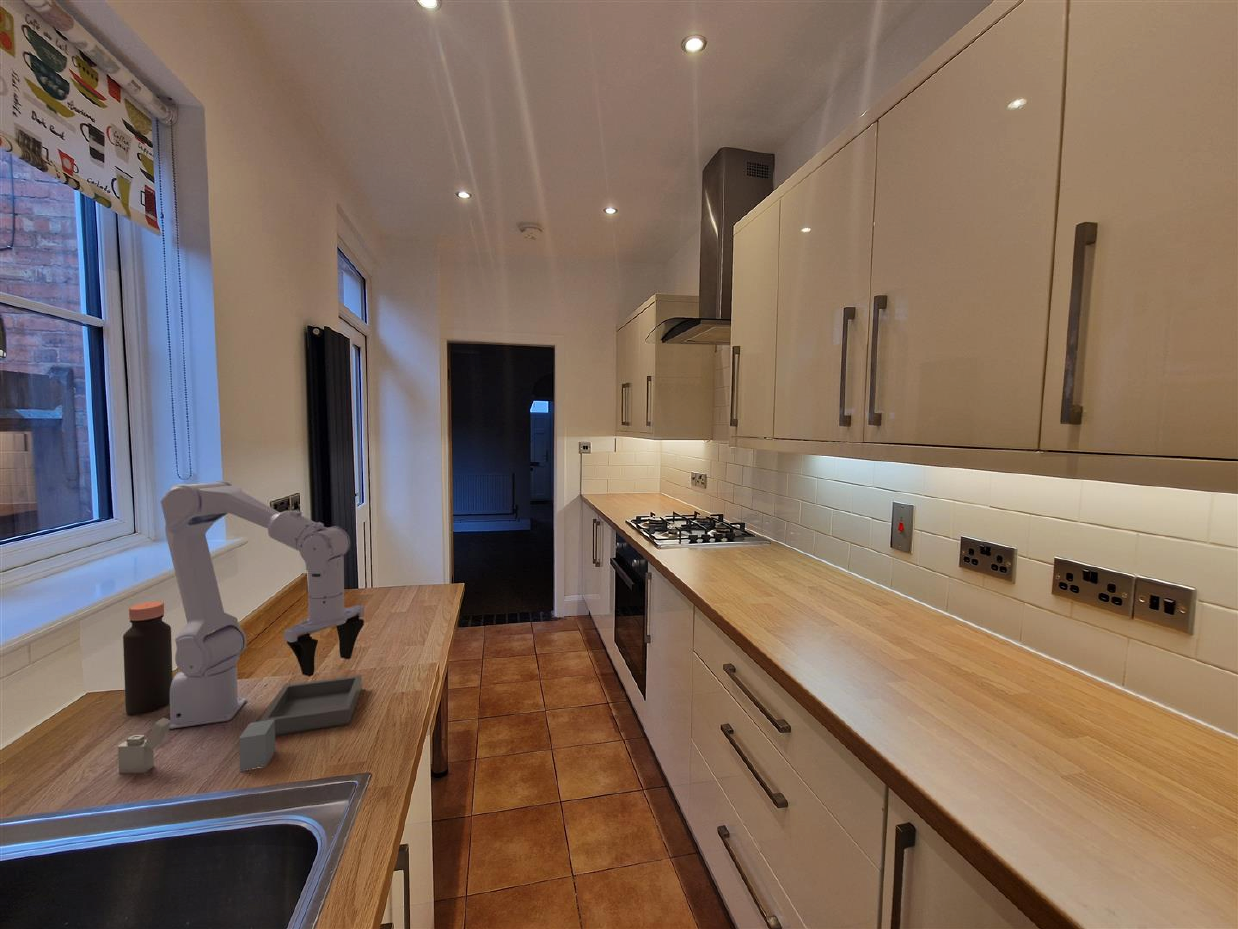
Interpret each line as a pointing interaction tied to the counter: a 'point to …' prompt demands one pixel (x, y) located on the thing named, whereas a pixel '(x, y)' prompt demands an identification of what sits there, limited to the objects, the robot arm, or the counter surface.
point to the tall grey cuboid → (257, 744)
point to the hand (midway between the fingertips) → (327, 666)
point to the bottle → (147, 659)
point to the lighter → (141, 749)
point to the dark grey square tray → (314, 705)
